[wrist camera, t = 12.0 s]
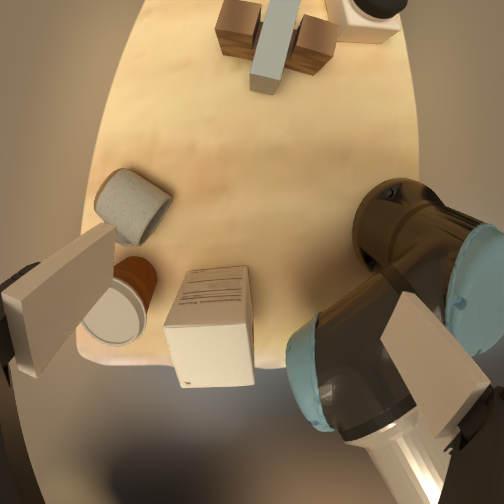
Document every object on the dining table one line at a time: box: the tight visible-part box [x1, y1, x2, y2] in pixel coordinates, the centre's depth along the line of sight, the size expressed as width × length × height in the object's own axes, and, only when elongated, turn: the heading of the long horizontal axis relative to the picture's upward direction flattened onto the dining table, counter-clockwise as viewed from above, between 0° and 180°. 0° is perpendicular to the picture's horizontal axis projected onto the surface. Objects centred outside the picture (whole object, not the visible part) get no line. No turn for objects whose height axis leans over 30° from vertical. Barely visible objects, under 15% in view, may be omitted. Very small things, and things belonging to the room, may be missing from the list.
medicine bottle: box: [325, 0, 408, 44], centre depth 26 cm, size 7×7×12 cm
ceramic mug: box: [94, 168, 172, 247], centre depth 37 cm, size 11×8×8 cm
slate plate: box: [250, 0, 301, 95], centre depth 29 cm, size 3×12×10 cm, turn 167°
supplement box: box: [163, 266, 255, 388], centre depth 38 cm, size 9×9×15 cm
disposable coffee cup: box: [80, 256, 157, 347], centre depth 38 cm, size 10×10×12 cm
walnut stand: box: [215, 0, 340, 76], centre depth 29 cm, size 12×4×10 cm, turn 77°
